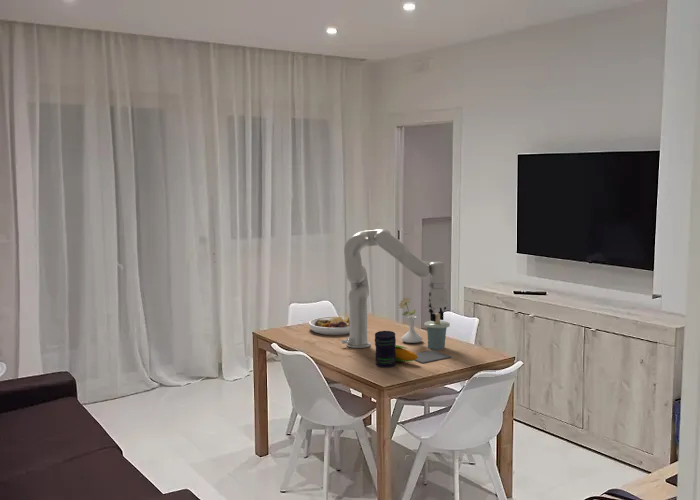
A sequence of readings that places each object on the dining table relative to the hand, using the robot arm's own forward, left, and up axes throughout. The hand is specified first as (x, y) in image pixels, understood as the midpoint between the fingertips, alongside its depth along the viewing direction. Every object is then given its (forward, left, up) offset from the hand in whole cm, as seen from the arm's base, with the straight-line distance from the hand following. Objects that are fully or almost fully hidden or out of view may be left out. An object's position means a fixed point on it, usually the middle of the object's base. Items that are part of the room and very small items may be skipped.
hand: (436, 320), depth 343 cm
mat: (-15, -11, -15) cm, 24 cm away
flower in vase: (-4, +17, -15) cm, 23 cm away
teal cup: (0, 0, -15) cm, 15 cm away
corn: (-32, -10, -15) cm, 36 cm away
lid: (0, 0, -3) cm, 3 cm away
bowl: (-23, +64, -15) cm, 70 cm away
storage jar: (-40, -10, -15) cm, 43 cm away
